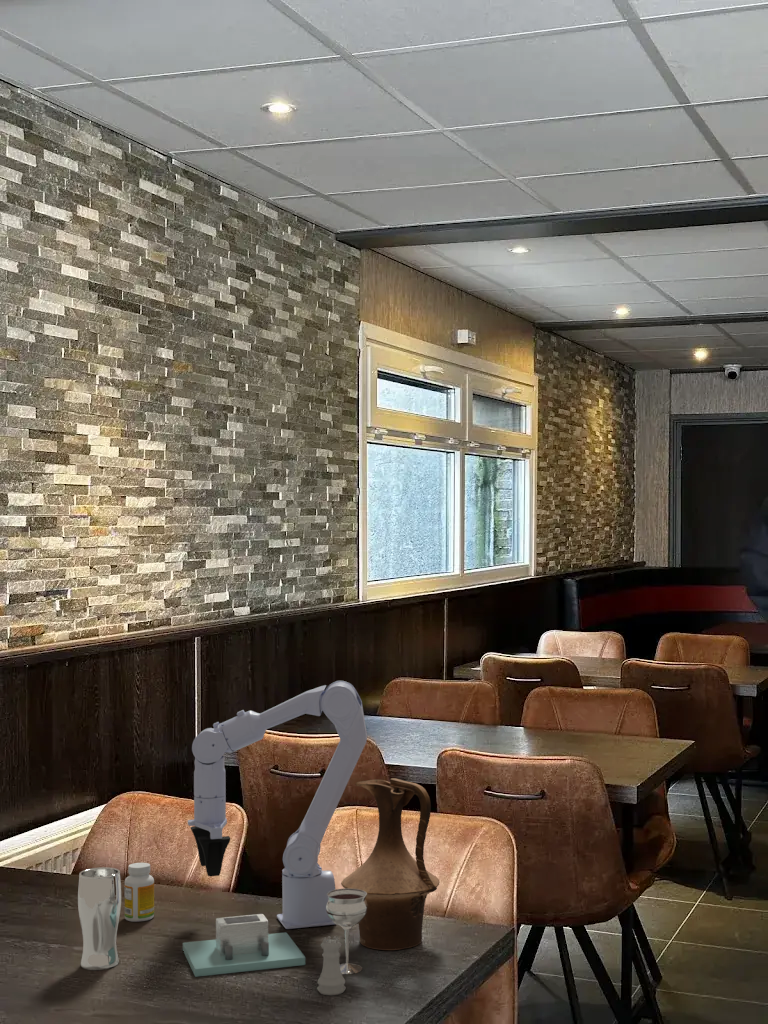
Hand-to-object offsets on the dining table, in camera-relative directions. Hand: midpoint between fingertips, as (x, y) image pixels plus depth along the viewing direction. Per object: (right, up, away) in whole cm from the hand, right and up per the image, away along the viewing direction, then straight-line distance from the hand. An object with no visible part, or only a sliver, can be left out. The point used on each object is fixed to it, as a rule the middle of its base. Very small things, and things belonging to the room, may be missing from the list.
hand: (210, 870), depth 229 cm
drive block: (+8, -8, -20) cm, 23 cm away
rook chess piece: (+24, -9, -36) cm, 44 cm away
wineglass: (+26, -9, -26) cm, 37 cm away
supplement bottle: (-13, -10, +3) cm, 17 cm away
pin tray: (+8, -9, -20) cm, 23 cm away
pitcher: (+33, -9, -12) cm, 36 cm away
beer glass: (-15, -9, -23) cm, 29 cm away
